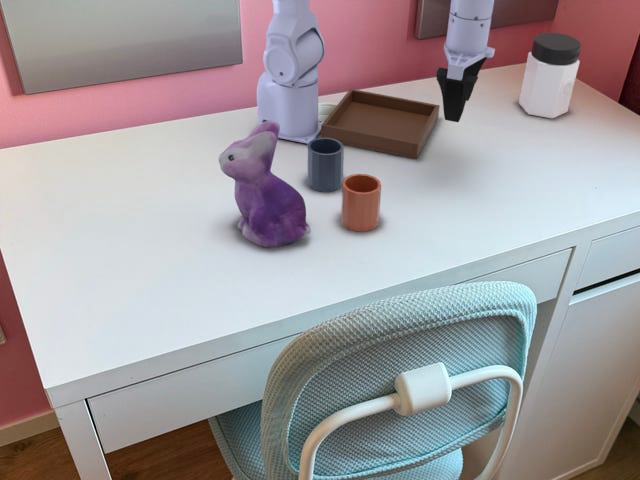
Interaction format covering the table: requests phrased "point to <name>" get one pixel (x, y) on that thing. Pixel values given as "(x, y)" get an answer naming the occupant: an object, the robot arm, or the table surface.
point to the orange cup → (360, 202)
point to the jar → (550, 75)
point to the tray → (381, 123)
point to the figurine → (263, 190)
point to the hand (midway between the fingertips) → (457, 109)
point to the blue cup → (325, 164)
